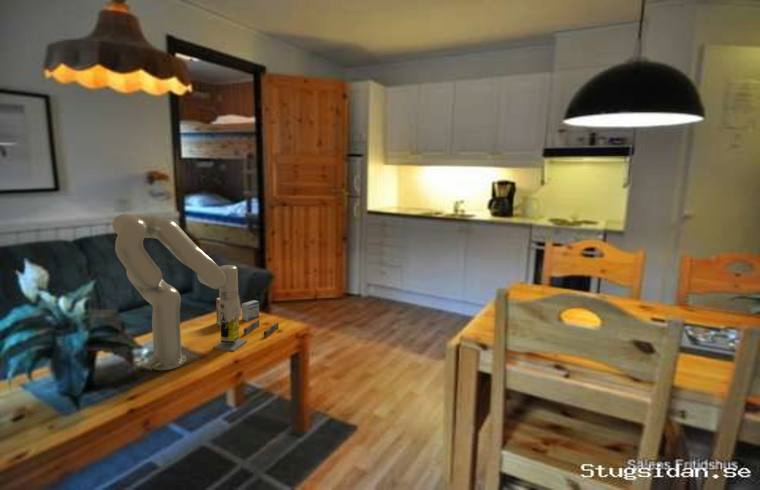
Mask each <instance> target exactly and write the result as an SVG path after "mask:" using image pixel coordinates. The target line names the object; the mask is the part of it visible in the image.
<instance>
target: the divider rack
mask: <svg viewBox="0 0 760 490" xmlns="http://www.w3.org/2000/svg"><path fill="white" fill-rule="evenodd" d="M258 327H260V319H259V320H258V319H257V320H255V321H254V322H252V323H250V324H248V325H247V326H246V327H244V328H243V335H245V336H247V335H248V334H251V332H253V331H254V330H255V329H257V328H258ZM277 330H279V322H275V323H273V324H272V325H271V326H269V327H268V328H266V329H265V330H264V331H263V338H264V339H267V338H268V337H270V336H271V335H272V334H273V333H274V332H276V331H277Z"/></svg>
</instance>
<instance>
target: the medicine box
mask: <svg viewBox="0 0 760 490" xmlns="http://www.w3.org/2000/svg"><path fill="white" fill-rule="evenodd" d="M257 318H260V301H259V300H255V299H253V300H249V301H246V302H244V303H241V320H242V321H245V322H250V321H252V319H253V320H255V319H257Z"/></svg>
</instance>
